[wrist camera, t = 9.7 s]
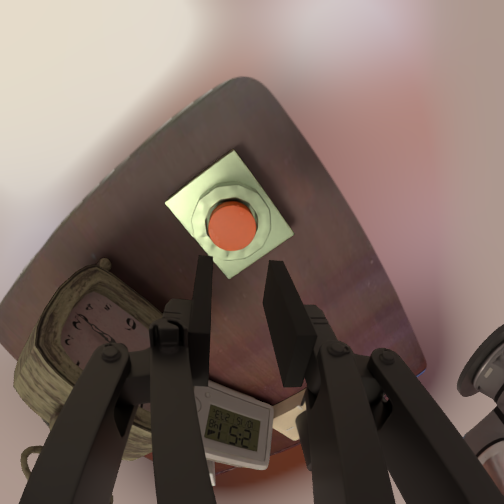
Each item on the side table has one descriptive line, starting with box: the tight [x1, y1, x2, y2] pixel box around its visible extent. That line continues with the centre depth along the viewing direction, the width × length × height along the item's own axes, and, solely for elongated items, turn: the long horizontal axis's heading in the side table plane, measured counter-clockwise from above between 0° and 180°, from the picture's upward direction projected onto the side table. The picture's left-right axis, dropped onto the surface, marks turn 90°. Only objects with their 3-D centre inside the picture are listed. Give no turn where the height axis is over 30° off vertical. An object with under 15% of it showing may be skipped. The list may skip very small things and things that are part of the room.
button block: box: [165, 149, 294, 279], centre depth 28 cm, size 10×8×4 cm
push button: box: [208, 201, 256, 251], centre depth 25 cm, size 4×4×2 cm
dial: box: [295, 410, 312, 471], centre depth 36 cm, size 6×6×9 cm
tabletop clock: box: [13, 258, 195, 504], centre depth 21 cm, size 14×9×25 cm, turn 43°
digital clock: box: [194, 380, 274, 470], centre depth 35 cm, size 16×9×11 cm, turn 42°
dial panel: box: [272, 389, 306, 441], centre depth 41 cm, size 12×10×3 cm
